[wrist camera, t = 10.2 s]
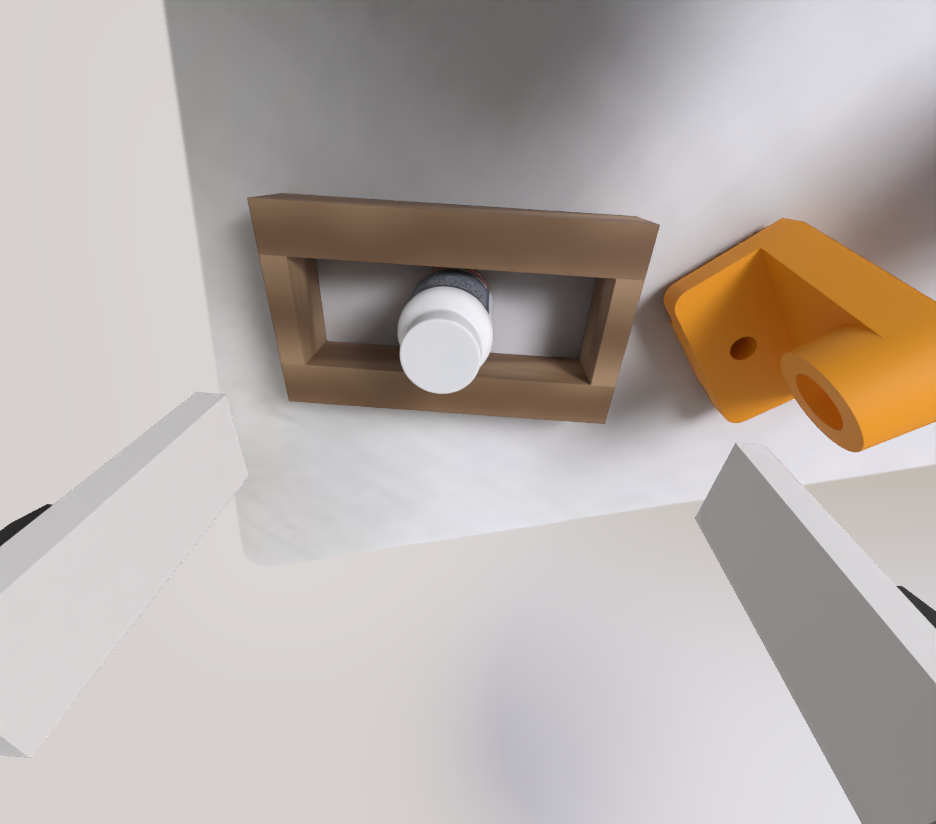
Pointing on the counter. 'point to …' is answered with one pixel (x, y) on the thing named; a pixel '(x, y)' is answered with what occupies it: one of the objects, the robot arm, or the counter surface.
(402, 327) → the pill bottle
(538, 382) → the brown open rectangular frame
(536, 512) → the counter surface
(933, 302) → the bracket
